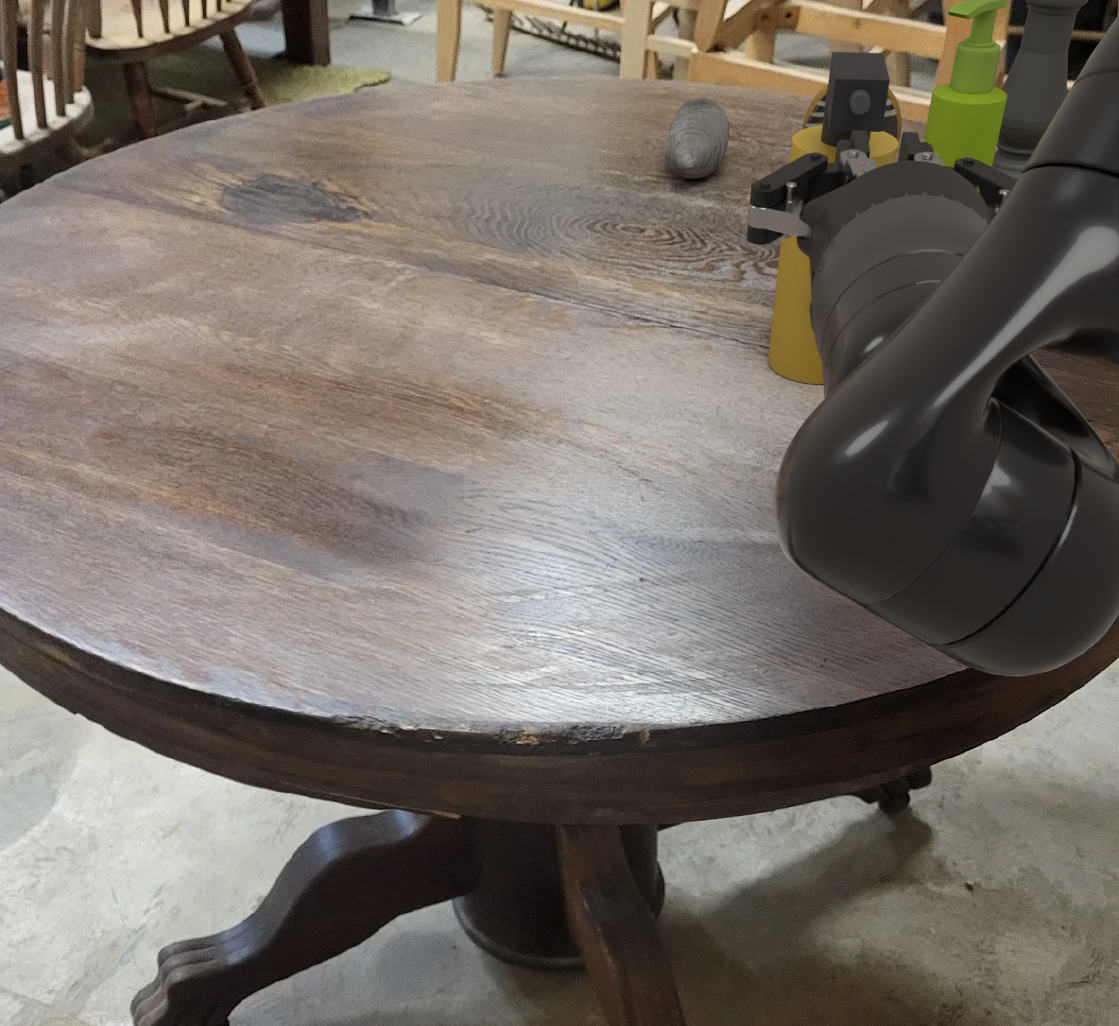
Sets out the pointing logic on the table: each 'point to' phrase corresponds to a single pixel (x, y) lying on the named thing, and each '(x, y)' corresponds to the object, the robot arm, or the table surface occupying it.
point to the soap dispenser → (969, 92)
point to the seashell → (697, 138)
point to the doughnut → (891, 116)
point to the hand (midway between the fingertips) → (880, 152)
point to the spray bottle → (847, 107)
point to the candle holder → (1035, 81)
